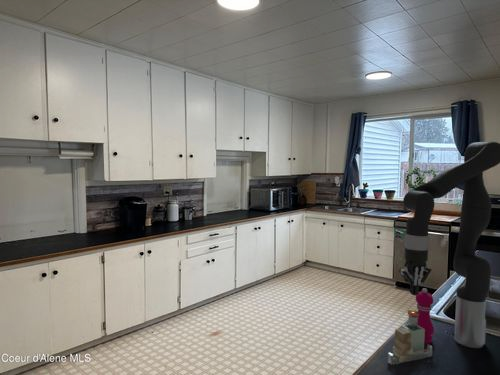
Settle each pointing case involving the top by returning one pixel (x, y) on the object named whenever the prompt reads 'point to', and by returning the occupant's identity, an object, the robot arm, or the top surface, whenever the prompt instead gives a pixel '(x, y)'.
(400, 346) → the carriage
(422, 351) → the rail
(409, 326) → the plunger
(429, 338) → the pepper mill
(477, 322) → the robot arm
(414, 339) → the cabinet
